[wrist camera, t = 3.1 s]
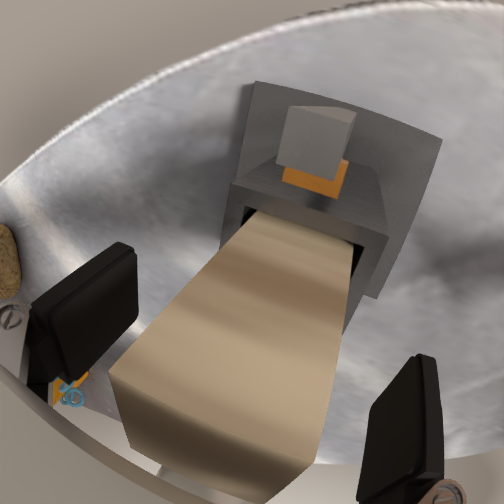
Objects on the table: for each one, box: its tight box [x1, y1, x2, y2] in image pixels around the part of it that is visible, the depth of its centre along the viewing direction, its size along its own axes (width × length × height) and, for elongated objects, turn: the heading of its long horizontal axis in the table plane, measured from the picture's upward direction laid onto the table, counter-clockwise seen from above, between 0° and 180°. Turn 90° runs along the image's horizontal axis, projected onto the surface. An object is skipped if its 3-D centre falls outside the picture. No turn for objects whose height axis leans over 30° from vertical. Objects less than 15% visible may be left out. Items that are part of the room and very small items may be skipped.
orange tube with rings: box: [53, 371, 89, 407], centre depth 48 cm, size 12×10×15 cm
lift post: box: [108, 210, 354, 504], centre depth 14 cm, size 4×4×20 cm
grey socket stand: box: [219, 81, 443, 335], centre depth 16 cm, size 14×14×18 cm
